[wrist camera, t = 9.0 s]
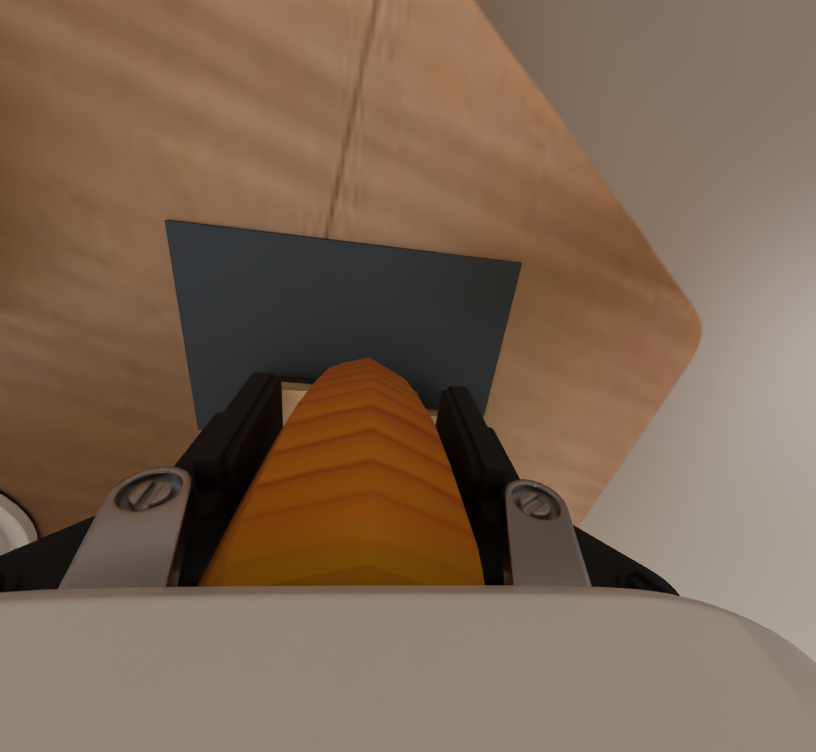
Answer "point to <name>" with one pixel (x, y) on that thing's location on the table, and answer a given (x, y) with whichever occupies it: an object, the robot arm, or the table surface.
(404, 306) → the mat
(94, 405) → the table surface
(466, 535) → the carrot
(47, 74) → the table surface
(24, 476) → the table surface
